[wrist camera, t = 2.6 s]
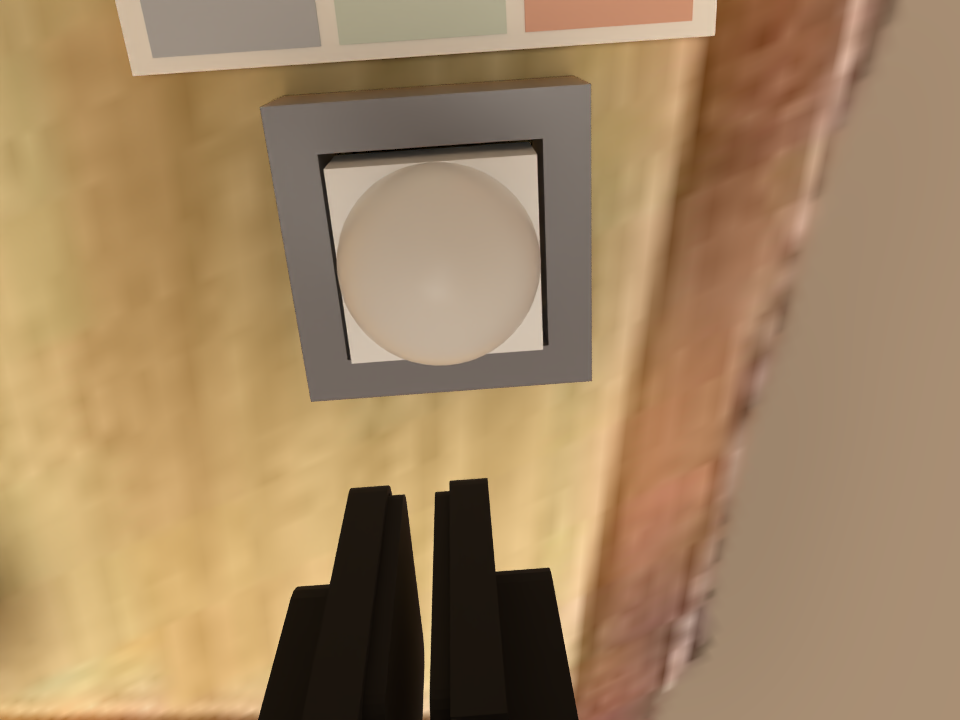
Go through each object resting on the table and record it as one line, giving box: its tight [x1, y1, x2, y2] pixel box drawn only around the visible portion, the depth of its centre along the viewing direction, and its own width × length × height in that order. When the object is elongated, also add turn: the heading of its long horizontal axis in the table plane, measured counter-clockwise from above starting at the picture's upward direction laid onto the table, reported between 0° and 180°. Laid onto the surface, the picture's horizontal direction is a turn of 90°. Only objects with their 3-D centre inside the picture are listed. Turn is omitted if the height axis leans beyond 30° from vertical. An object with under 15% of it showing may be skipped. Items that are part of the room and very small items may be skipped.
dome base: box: [260, 76, 592, 402], centre depth 27 cm, size 10×10×4 cm
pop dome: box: [324, 142, 543, 366], centre depth 24 cm, size 6×6×6 cm
